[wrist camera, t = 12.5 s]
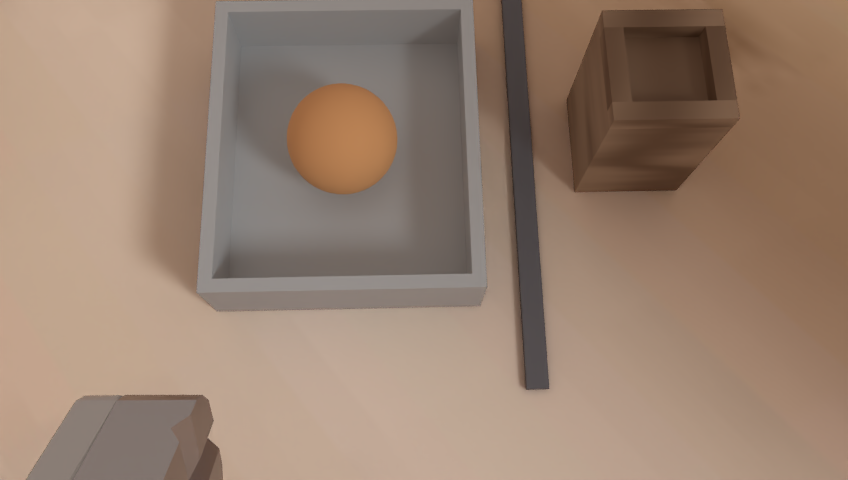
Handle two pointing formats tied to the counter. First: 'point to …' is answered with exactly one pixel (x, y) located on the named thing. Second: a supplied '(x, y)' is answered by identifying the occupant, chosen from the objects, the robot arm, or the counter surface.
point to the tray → (342, 213)
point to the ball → (342, 138)
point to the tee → (650, 99)
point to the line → (524, 199)
